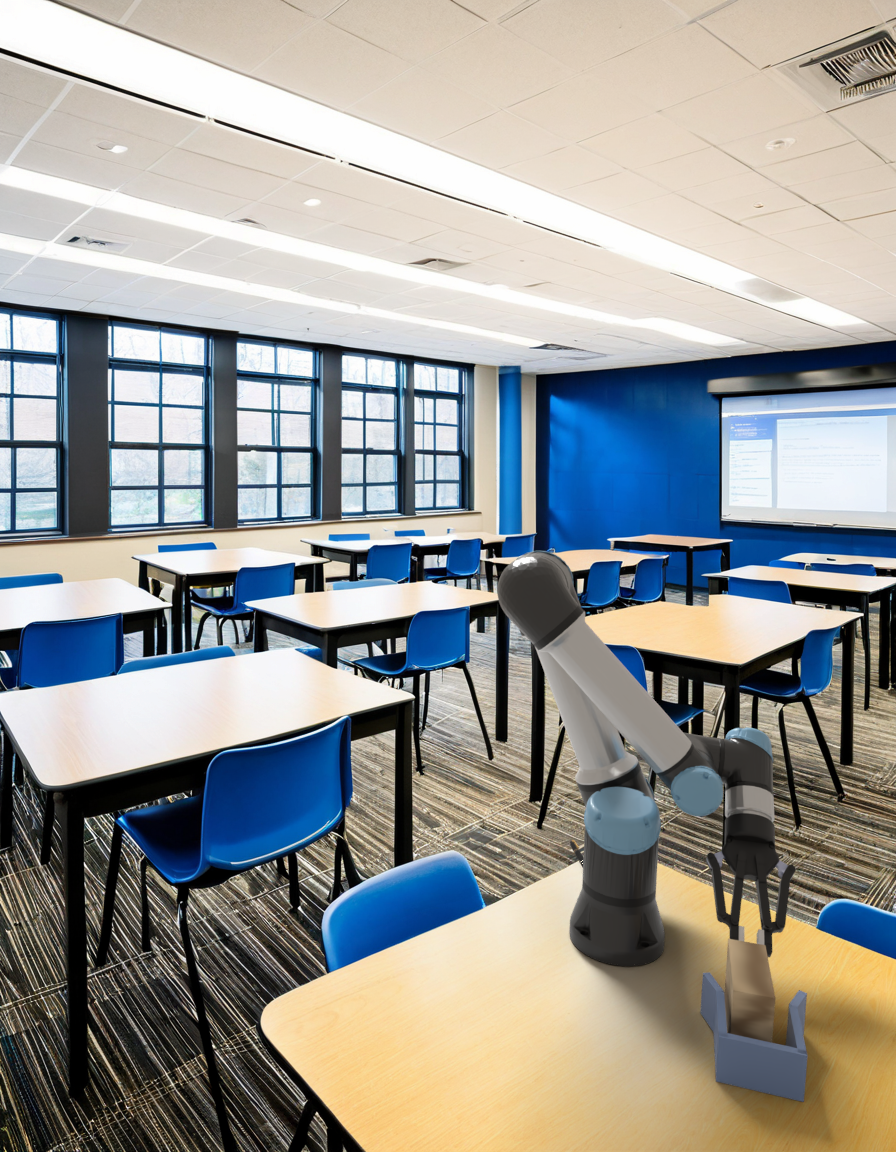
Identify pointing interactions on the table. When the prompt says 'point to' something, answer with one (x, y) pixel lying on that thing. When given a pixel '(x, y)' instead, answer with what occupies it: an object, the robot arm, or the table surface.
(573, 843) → the fountain pen
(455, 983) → the table surface
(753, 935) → the table surface
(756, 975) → the block
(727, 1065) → the blue u-shaped bracket
